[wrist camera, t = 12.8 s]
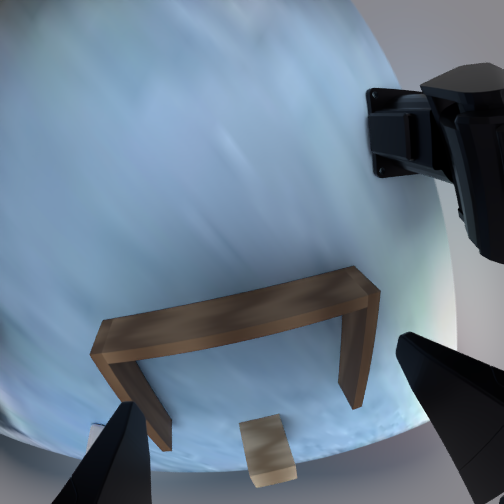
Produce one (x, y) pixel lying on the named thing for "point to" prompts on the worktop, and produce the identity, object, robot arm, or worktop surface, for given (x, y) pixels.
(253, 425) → the maple block
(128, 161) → the worktop surface
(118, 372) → the wooden u-shaped frame
